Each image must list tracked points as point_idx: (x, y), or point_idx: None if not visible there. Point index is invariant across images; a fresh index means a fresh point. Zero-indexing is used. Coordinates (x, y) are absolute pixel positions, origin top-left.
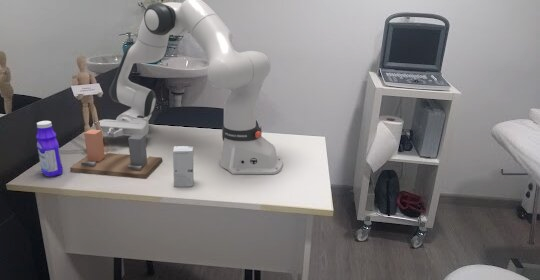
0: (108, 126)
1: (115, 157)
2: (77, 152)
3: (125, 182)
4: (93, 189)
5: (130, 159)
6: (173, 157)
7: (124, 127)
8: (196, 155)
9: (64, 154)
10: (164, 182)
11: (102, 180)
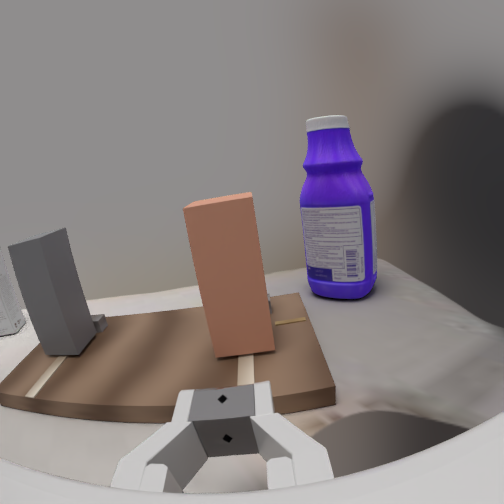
0: (373, 469)
1: (167, 374)
2: (447, 389)
3: (116, 315)
4: (183, 289)
5: (86, 307)
6: (2, 255)
7: (76, 481)
8: None
9: (467, 352)
10: None
11: (176, 309)
